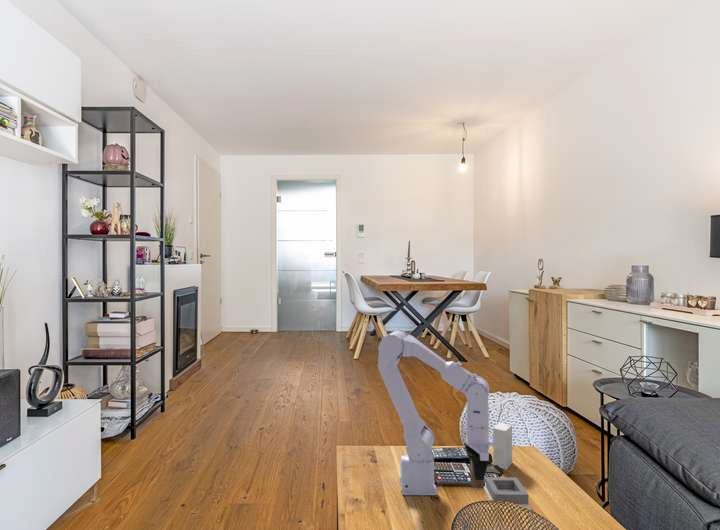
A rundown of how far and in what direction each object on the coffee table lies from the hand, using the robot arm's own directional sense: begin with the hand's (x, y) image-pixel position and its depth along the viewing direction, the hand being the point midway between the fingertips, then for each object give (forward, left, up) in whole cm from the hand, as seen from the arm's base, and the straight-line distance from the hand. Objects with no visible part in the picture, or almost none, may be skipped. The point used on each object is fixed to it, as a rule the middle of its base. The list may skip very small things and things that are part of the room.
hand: (477, 475), depth 113 cm
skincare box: (+13, +19, -6) cm, 24 cm away
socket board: (+8, 0, -6) cm, 10 cm away
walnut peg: (0, 0, -2) cm, 2 cm away
